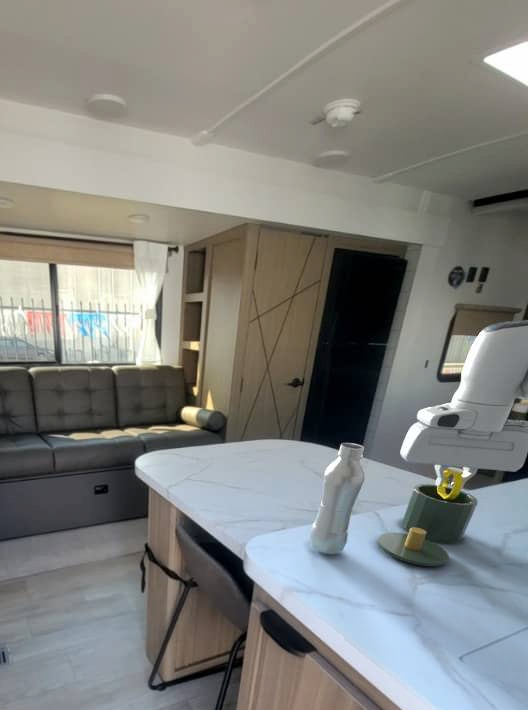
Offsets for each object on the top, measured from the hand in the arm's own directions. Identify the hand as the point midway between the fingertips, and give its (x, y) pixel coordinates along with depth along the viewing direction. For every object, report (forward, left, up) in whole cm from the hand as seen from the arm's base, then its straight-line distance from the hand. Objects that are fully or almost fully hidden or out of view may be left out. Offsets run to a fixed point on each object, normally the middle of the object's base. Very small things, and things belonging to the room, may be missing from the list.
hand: (448, 486), depth 81 cm
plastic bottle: (+24, +14, -10) cm, 30 cm away
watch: (0, 0, -2) cm, 2 cm away
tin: (0, 0, -10) cm, 10 cm away
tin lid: (+8, +11, -9) cm, 17 cm away
